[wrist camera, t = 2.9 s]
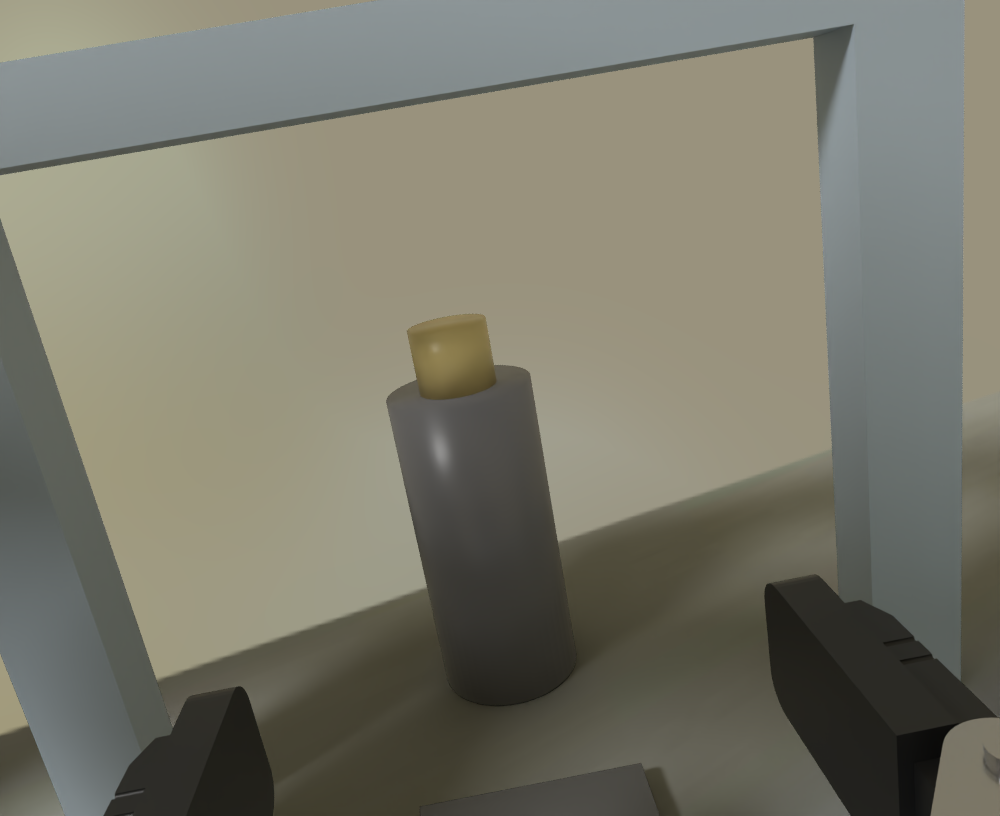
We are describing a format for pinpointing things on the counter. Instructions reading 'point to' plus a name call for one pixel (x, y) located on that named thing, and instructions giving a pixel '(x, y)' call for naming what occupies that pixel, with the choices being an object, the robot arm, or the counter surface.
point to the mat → (562, 797)
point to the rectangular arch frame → (469, 71)
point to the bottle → (482, 515)
